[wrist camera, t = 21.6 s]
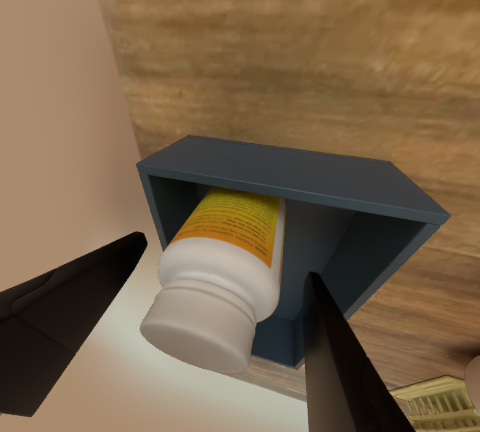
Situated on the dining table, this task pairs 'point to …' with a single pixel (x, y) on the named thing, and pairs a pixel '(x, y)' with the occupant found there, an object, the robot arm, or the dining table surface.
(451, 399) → the model building
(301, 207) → the storage tote
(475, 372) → the ball
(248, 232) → the supplement bottle
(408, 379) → the dining table surface
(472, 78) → the dining table surface
